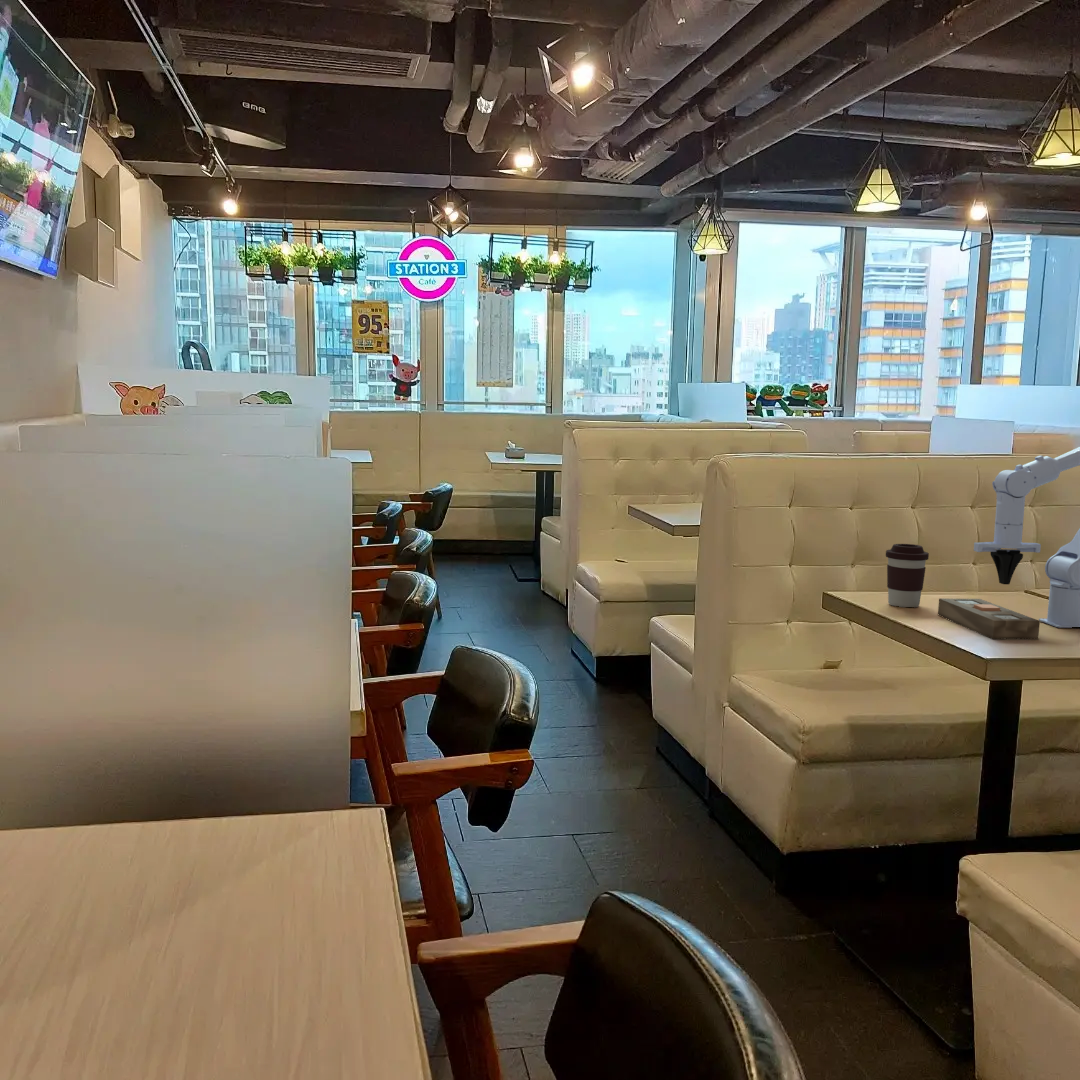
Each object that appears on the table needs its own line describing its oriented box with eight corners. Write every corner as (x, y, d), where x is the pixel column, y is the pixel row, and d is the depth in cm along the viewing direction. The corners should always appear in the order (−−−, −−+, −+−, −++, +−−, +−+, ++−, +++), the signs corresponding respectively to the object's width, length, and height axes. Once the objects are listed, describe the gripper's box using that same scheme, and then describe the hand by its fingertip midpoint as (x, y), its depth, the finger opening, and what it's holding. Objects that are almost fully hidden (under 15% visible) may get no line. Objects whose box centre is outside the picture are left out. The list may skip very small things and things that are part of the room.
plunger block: (978, 615, 237) (980, 598, 236) (1038, 639, 212) (1039, 620, 211) (937, 615, 236) (939, 598, 235) (992, 639, 211) (994, 620, 211)
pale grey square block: (1009, 629, 217) (1010, 615, 217) (1019, 633, 213) (1020, 619, 213) (992, 628, 217) (993, 615, 217) (1001, 633, 213) (1002, 619, 213)
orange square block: (989, 617, 226) (990, 604, 225) (999, 621, 222) (1000, 607, 221) (972, 617, 225) (973, 604, 225) (981, 621, 221) (982, 607, 221)
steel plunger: (970, 613, 234) (971, 600, 234) (979, 616, 230) (980, 604, 230) (954, 613, 234) (955, 600, 234) (962, 616, 230) (963, 603, 230)
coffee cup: (898, 609, 241) (902, 548, 240) (874, 602, 251) (878, 542, 249) (933, 608, 244) (938, 547, 242) (908, 601, 254) (912, 542, 252)
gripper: (1030, 522, 228) (1025, 580, 230) (968, 521, 227) (964, 580, 229) (1047, 525, 221) (1042, 586, 223) (984, 525, 220) (980, 585, 222)
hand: (1004, 583), depth 225 cm, fingers closed
